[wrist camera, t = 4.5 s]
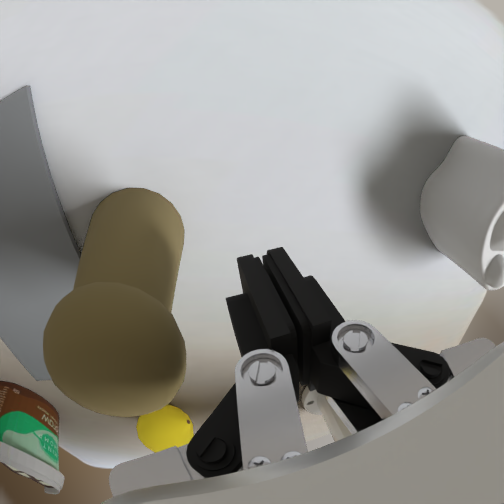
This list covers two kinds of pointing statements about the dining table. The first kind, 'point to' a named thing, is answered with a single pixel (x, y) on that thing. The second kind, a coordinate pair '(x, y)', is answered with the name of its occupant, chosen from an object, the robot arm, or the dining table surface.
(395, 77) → the dining table surface
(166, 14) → the dining table surface
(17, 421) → the food container
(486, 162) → the lumpy-topped squat cylinder
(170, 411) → the lemon
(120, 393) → the cork
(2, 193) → the mat
